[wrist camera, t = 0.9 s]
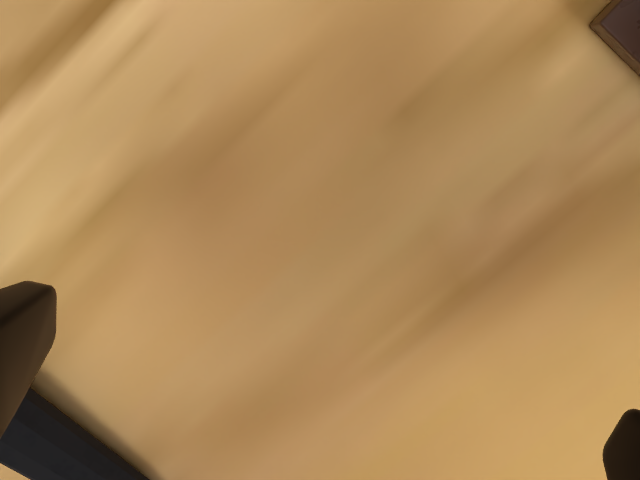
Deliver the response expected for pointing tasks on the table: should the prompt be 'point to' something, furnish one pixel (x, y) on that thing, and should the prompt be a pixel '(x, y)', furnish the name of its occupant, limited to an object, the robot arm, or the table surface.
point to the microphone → (57, 447)
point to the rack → (621, 30)
